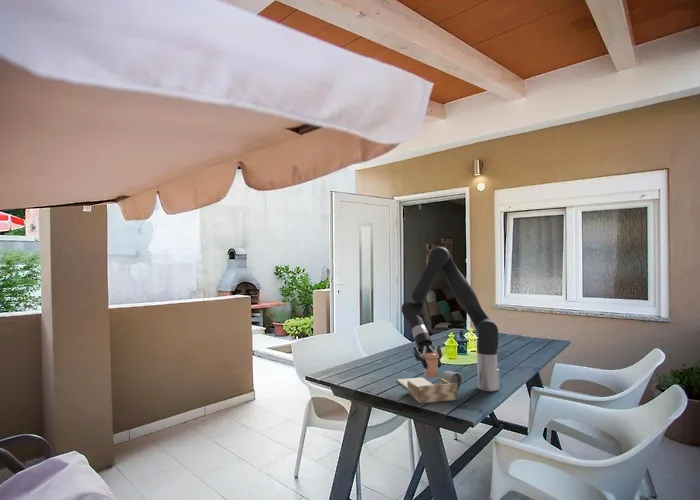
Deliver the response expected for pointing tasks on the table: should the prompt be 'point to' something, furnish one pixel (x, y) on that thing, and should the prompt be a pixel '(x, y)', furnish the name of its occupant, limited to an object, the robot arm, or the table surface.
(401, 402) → the table surface
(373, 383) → the table surface
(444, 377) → the ceramic mug
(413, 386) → the wooden frame
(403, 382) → the stone tile
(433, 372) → the tan round-topped cylinder
